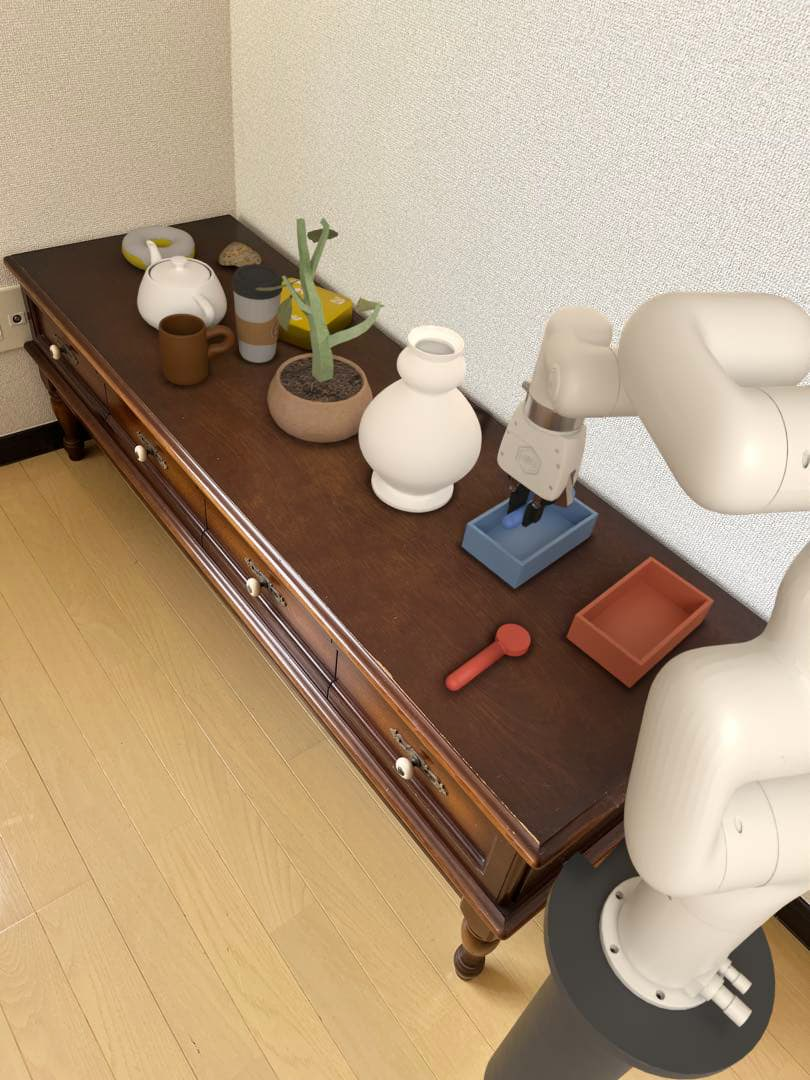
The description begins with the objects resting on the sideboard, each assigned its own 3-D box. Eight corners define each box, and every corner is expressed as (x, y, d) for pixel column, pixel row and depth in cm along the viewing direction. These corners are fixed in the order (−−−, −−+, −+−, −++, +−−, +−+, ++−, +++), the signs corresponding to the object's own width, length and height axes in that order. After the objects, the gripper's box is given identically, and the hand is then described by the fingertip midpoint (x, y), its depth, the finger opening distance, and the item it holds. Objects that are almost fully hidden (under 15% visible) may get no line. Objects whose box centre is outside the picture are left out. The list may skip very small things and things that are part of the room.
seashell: (247, 268, 162) (217, 241, 162) (238, 289, 167) (209, 262, 167) (272, 255, 168) (243, 228, 168) (263, 275, 172) (235, 249, 172)
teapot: (253, 342, 148) (252, 279, 139) (171, 363, 140) (165, 297, 131) (190, 281, 161) (186, 219, 152) (113, 296, 153) (104, 233, 145)
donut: (183, 241, 172) (181, 218, 169) (206, 272, 164) (204, 248, 161) (115, 249, 166) (112, 225, 163) (135, 281, 158) (133, 256, 155)
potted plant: (396, 427, 135) (420, 253, 114) (304, 461, 126) (311, 279, 105) (320, 360, 146) (329, 191, 125) (230, 387, 137) (224, 209, 116)
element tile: (244, 326, 151) (244, 303, 148) (289, 295, 161) (289, 272, 158) (314, 354, 147) (315, 330, 144) (355, 320, 158) (357, 297, 154)
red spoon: (459, 703, 97) (462, 693, 96) (433, 679, 99) (436, 669, 98) (535, 645, 105) (539, 635, 104) (510, 623, 107) (513, 614, 106)
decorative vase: (390, 538, 116) (413, 390, 98) (333, 464, 126) (344, 318, 109) (492, 505, 124) (529, 362, 106) (430, 437, 134) (455, 297, 116)
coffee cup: (273, 370, 142) (274, 291, 132) (227, 361, 142) (224, 280, 132) (287, 346, 148) (288, 268, 138) (242, 337, 148) (240, 258, 138)
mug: (234, 361, 143) (232, 312, 136) (237, 386, 138) (235, 337, 131) (162, 362, 140) (157, 312, 133) (162, 388, 135) (157, 337, 128)
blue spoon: (515, 540, 110) (518, 529, 108) (491, 521, 112) (494, 511, 110) (579, 498, 118) (583, 487, 116) (555, 481, 120) (559, 471, 118)
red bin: (640, 578, 116) (650, 556, 113) (701, 622, 111) (714, 600, 108) (565, 637, 107) (575, 614, 103) (629, 688, 102) (641, 666, 99)
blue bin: (537, 499, 126) (544, 476, 123) (589, 536, 121) (598, 513, 118) (461, 546, 116) (466, 523, 113) (514, 589, 112) (522, 566, 109)
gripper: (488, 385, 101) (462, 496, 114) (588, 452, 94) (549, 562, 107) (526, 367, 106) (498, 475, 118) (626, 429, 98) (584, 538, 111)
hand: (522, 516), depth 113 cm, fingers closed on blue spoon, 2 cm apart
